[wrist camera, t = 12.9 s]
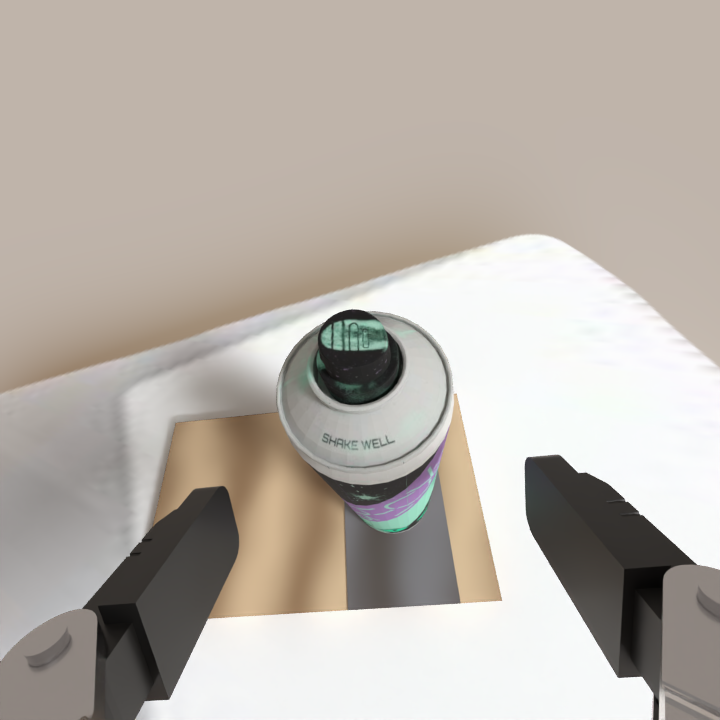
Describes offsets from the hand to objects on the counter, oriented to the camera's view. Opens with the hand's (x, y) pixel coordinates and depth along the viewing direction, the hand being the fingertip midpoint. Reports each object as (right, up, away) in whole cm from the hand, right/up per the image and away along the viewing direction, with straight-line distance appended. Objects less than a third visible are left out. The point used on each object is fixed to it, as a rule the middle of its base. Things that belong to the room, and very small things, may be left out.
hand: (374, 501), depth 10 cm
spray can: (+2, -6, +16) cm, 17 cm away
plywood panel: (-4, -7, +18) cm, 20 cm away
